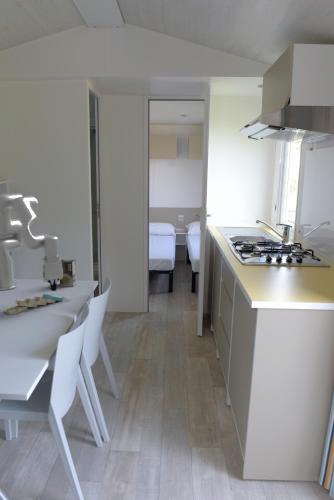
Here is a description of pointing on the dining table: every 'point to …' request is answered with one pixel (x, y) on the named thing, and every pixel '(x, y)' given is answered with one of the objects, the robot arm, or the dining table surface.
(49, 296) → the teal domino
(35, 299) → the domino
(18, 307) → the domino
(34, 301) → the domino
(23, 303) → the domino
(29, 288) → the dining table surface
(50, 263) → the robot arm
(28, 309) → the slate mat
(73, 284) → the coffee box
